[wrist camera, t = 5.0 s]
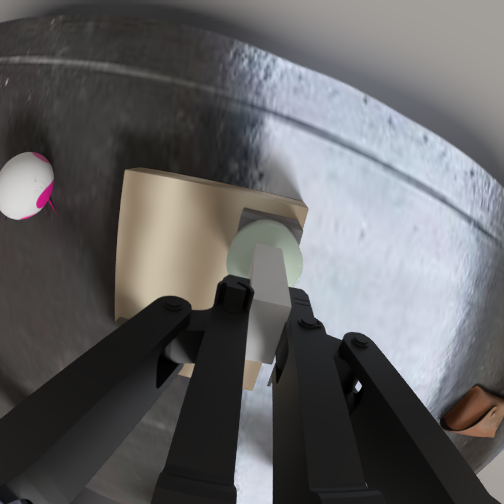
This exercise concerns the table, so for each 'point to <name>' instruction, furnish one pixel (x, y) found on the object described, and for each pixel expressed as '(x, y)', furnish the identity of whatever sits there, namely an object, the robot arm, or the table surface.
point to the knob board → (186, 240)
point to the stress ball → (25, 185)
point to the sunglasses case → (475, 414)
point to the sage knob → (266, 235)
